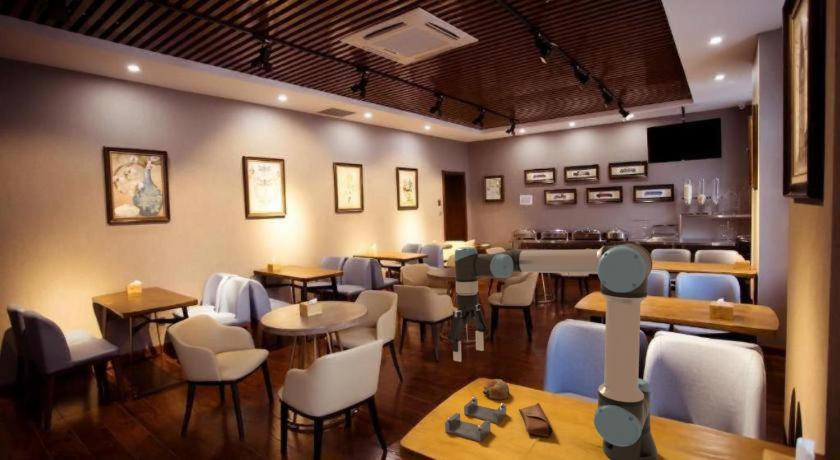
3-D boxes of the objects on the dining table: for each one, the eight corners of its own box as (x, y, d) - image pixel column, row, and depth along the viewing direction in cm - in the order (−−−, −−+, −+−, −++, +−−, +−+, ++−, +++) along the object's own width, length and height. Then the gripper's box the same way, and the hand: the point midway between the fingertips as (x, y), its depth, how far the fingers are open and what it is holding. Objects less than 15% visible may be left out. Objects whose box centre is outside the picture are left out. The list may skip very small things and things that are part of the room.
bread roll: (504, 410, 171) (513, 392, 170) (480, 396, 173) (489, 379, 172) (504, 399, 181) (513, 383, 180) (481, 387, 182) (490, 370, 181)
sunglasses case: (516, 408, 162) (527, 394, 162) (532, 419, 162) (543, 405, 162) (526, 432, 144) (538, 416, 144) (543, 445, 144) (556, 429, 144)
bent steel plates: (506, 414, 161) (505, 402, 161) (480, 441, 142) (479, 428, 142) (474, 407, 168) (473, 395, 168) (445, 432, 149) (444, 419, 149)
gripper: (477, 286, 161) (479, 344, 162) (435, 298, 142) (437, 363, 143) (495, 288, 156) (497, 347, 157) (454, 300, 137) (456, 368, 138)
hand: (469, 355), depth 150 cm, fingers open, 13 cm apart
